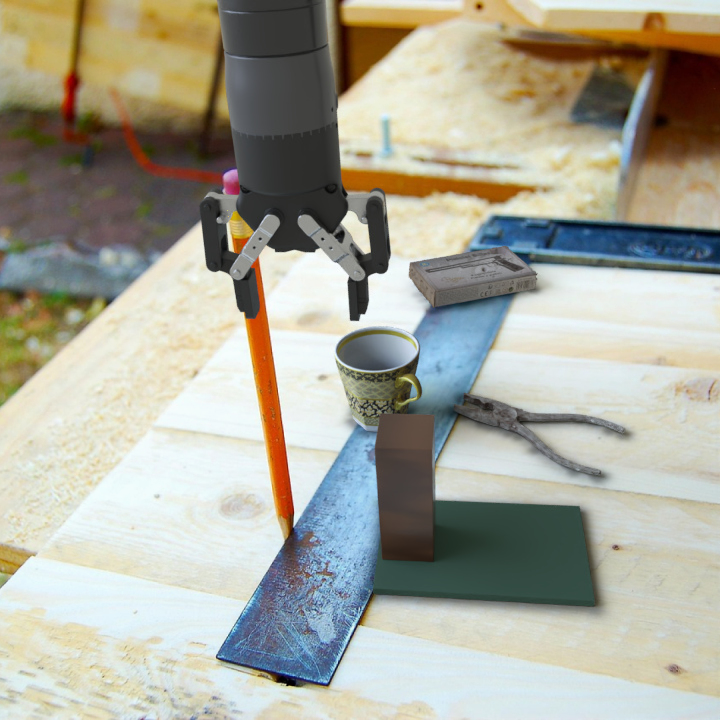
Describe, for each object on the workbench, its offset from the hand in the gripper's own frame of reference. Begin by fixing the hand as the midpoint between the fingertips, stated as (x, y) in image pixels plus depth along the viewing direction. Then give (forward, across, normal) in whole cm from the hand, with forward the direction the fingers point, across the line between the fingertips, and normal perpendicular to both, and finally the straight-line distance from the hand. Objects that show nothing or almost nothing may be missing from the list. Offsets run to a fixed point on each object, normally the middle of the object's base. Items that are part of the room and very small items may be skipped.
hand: (304, 315), depth 62 cm
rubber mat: (+26, +15, 0) cm, 31 cm away
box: (+26, +14, +55) cm, 63 cm away
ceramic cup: (+27, +4, +20) cm, 34 cm away
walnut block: (+26, +8, 0) cm, 27 cm away
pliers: (+26, +21, +18) cm, 38 cm away
